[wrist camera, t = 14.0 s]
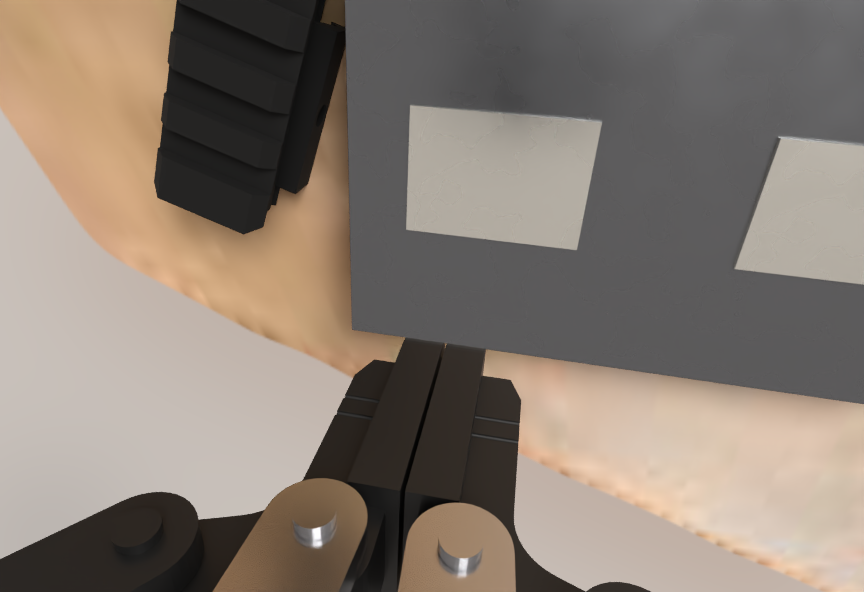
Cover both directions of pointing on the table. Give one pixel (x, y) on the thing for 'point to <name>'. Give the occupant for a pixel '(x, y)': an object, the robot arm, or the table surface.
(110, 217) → the table surface
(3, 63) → the table surface
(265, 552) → the robot arm
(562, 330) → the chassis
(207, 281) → the table surface
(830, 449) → the table surface
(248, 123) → the rail mount
